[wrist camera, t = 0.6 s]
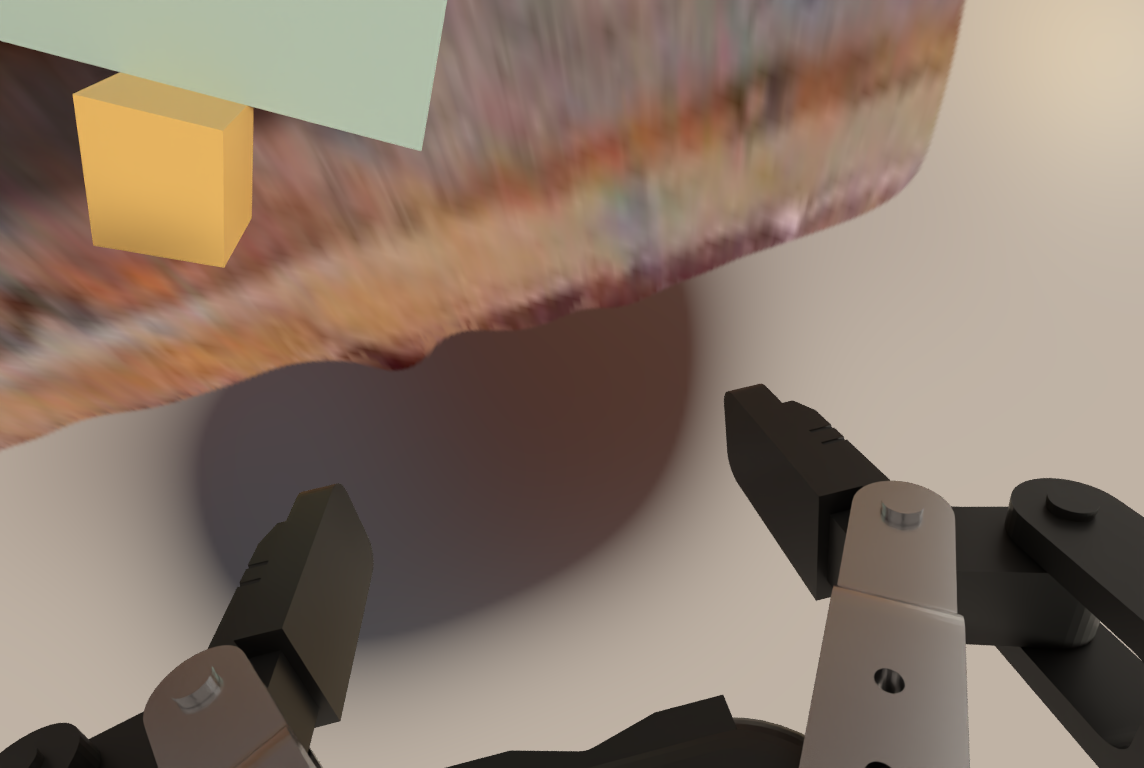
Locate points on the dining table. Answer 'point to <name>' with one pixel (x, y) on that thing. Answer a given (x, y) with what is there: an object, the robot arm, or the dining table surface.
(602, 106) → the dining table surface
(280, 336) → the dining table surface
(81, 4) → the lid
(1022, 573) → the robot arm
